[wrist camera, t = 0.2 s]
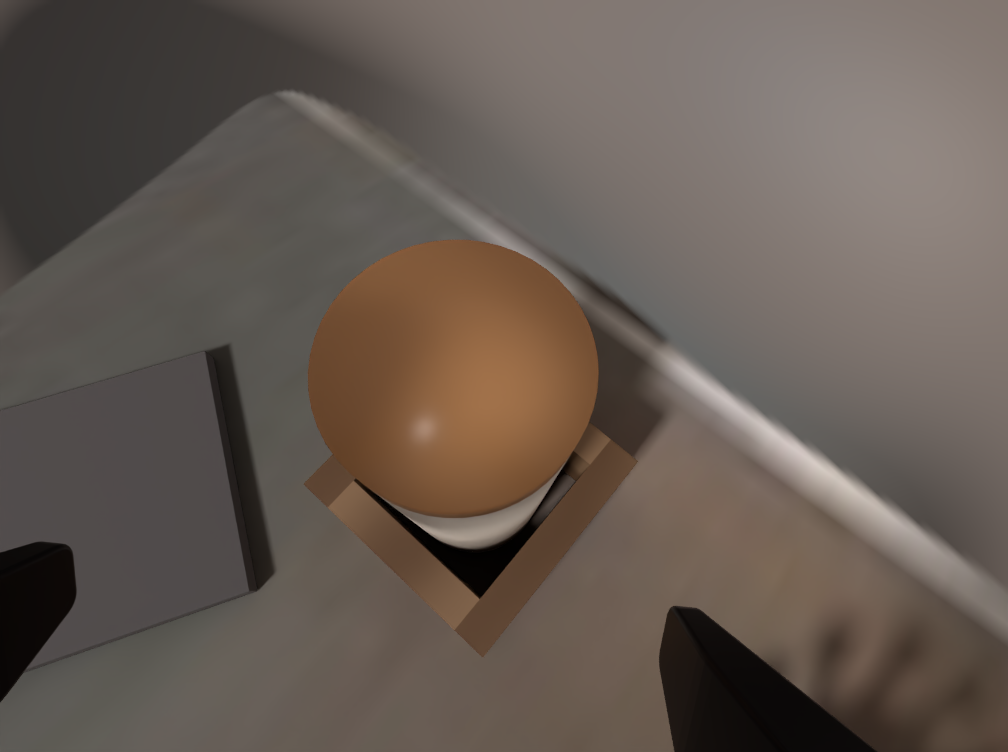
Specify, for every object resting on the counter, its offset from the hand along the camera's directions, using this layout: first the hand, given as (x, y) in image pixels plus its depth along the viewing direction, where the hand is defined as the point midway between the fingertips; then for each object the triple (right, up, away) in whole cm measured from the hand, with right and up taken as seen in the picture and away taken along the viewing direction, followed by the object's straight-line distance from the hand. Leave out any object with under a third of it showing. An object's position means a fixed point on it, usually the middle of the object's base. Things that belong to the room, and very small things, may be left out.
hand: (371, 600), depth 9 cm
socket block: (+1, -1, +14) cm, 14 cm away
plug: (+1, -1, +14) cm, 14 cm away
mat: (-14, -2, +14) cm, 20 cm away
